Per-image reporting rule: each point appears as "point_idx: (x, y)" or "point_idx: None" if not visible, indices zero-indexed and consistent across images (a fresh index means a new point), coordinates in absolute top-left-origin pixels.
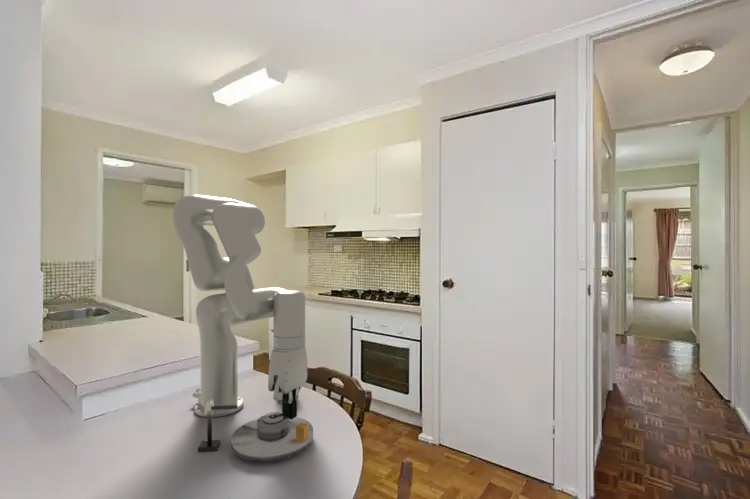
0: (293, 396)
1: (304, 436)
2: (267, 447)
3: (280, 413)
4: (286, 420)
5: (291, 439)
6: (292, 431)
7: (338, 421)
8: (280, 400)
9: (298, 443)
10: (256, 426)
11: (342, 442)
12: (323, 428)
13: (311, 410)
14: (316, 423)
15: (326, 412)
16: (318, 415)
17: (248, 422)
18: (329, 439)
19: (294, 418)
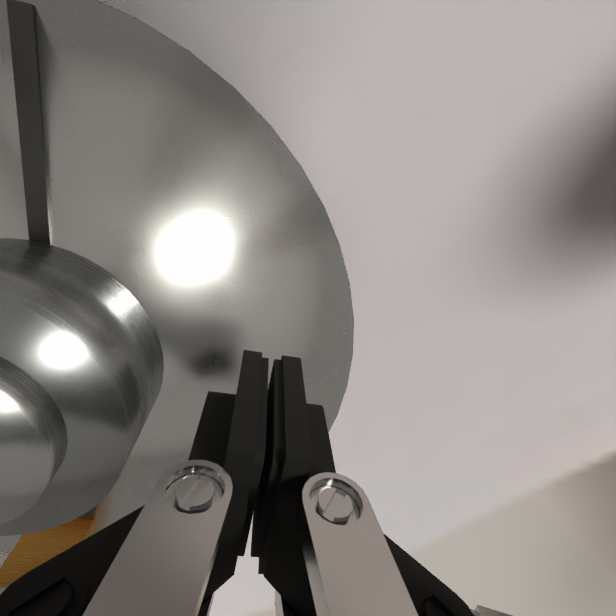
0: (284, 594)
1: None
2: None
3: (38, 482)
4: (26, 521)
5: None
6: (129, 456)
7: (434, 509)
8: (158, 481)
9: (11, 539)
10: (78, 160)
11: (240, 578)
12: (349, 477)
13: (573, 342)
14: (400, 430)
15: (540, 428)
16: (501, 404)
17: (115, 17)
18: (249, 533)
19: (313, 391)
